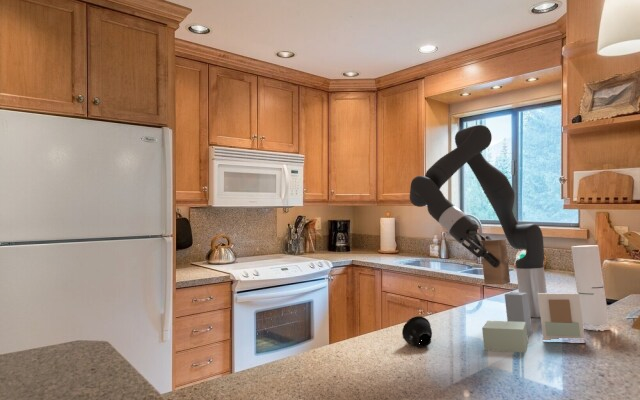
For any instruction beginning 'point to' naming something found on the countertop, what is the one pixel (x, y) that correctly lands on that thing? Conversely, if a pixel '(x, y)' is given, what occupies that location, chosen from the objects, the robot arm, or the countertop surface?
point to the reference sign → (560, 315)
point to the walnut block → (502, 271)
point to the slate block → (518, 309)
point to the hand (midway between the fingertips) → (502, 264)
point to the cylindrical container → (590, 284)
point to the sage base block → (505, 336)
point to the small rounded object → (417, 331)
